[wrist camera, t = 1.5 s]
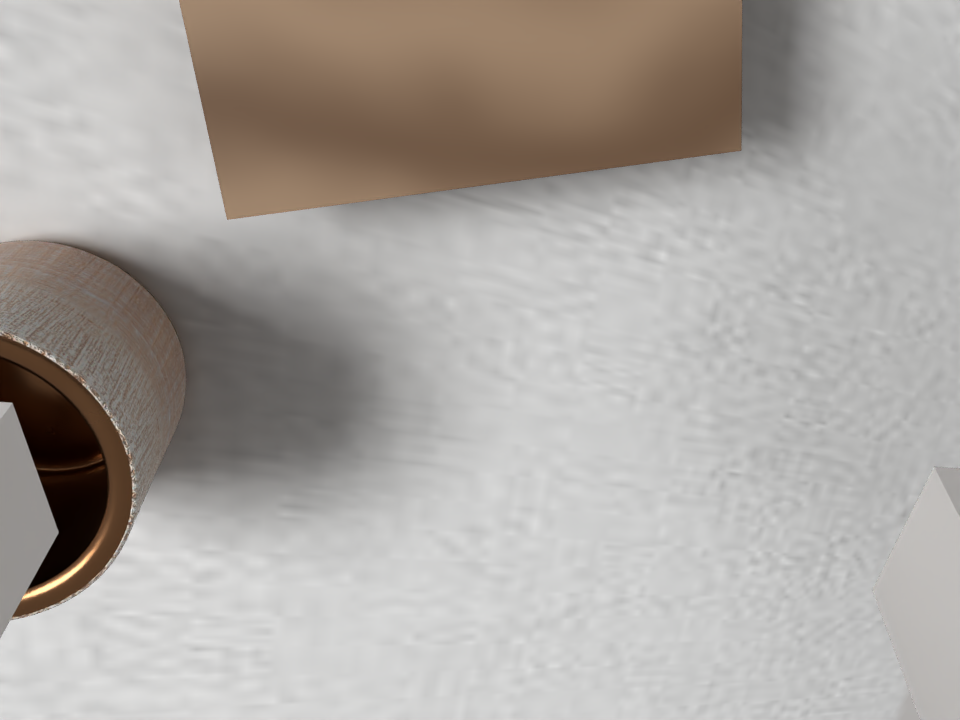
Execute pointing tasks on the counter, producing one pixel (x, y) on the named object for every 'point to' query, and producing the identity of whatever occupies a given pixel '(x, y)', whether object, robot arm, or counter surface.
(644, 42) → the plant stand
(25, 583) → the robot arm
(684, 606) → the counter surface
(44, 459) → the planter
